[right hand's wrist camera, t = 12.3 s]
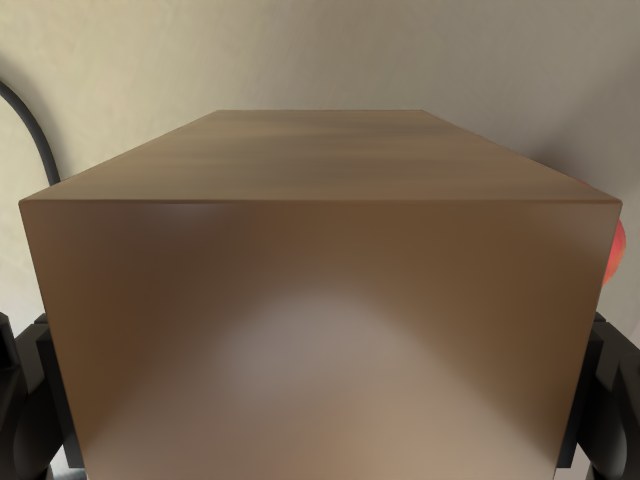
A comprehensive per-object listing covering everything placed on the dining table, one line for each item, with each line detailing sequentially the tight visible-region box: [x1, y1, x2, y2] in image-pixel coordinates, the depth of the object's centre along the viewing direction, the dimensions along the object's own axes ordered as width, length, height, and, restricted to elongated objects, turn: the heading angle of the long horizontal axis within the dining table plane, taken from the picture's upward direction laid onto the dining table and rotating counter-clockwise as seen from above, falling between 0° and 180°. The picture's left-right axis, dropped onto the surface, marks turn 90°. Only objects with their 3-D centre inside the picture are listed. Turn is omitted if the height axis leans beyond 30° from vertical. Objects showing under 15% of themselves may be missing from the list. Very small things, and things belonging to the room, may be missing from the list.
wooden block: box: [18, 110, 623, 480], centre depth 13 cm, size 8×8×12 cm
